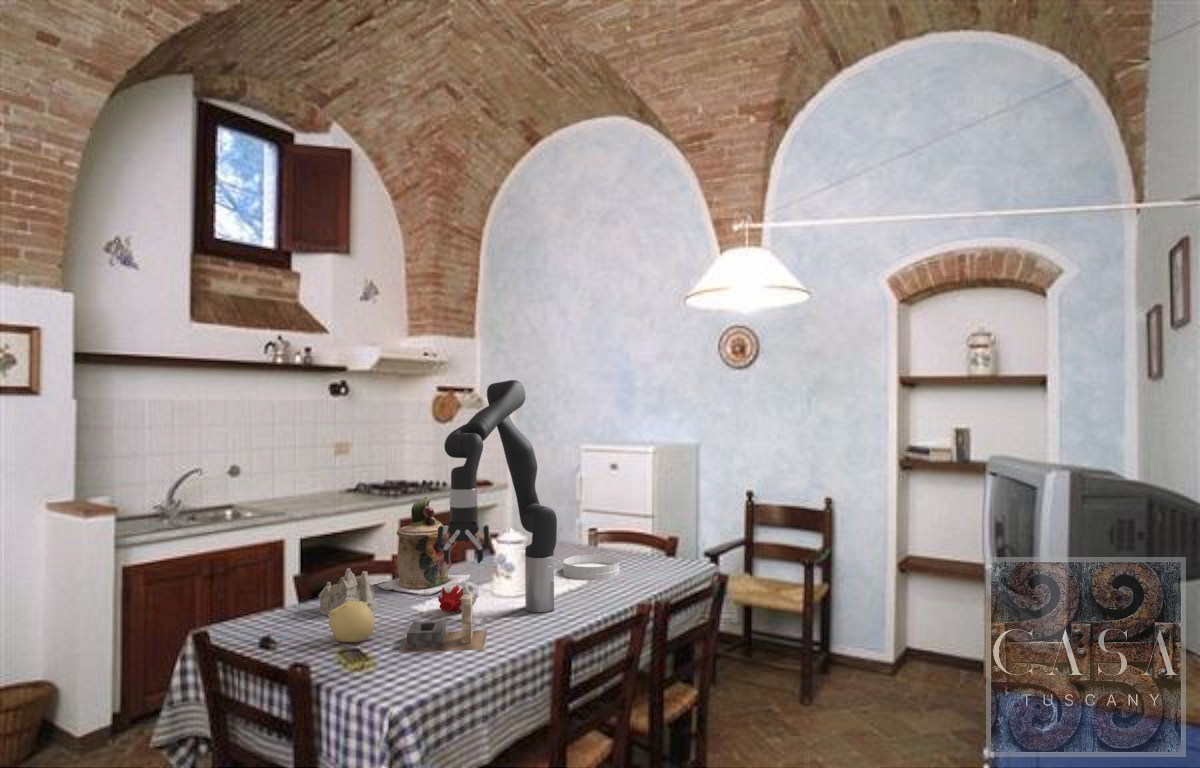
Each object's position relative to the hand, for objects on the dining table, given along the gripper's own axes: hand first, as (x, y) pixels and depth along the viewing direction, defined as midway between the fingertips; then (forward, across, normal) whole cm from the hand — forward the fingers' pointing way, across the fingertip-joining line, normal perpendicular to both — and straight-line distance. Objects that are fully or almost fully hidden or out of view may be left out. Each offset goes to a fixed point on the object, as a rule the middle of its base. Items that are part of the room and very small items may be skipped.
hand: (463, 563), depth 205 cm
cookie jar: (+23, +23, -67) cm, 74 cm away
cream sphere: (+23, +32, -6) cm, 40 cm away
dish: (+22, -38, -81) cm, 92 cm away
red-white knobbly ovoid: (+23, +7, -32) cm, 40 cm away
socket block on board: (+23, +5, +1) cm, 23 cm away
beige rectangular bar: (+21, -1, +1) cm, 21 cm away
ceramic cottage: (+23, +42, -37) cm, 60 cm away
